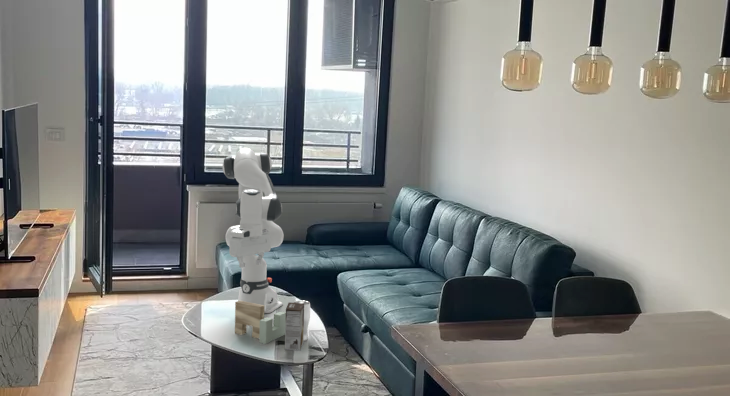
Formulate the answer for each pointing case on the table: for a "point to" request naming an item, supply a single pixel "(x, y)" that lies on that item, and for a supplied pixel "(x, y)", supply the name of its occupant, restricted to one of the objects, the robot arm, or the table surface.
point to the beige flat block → (248, 317)
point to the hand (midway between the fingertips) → (250, 265)
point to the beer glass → (305, 318)
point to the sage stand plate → (272, 328)
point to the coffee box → (294, 326)
